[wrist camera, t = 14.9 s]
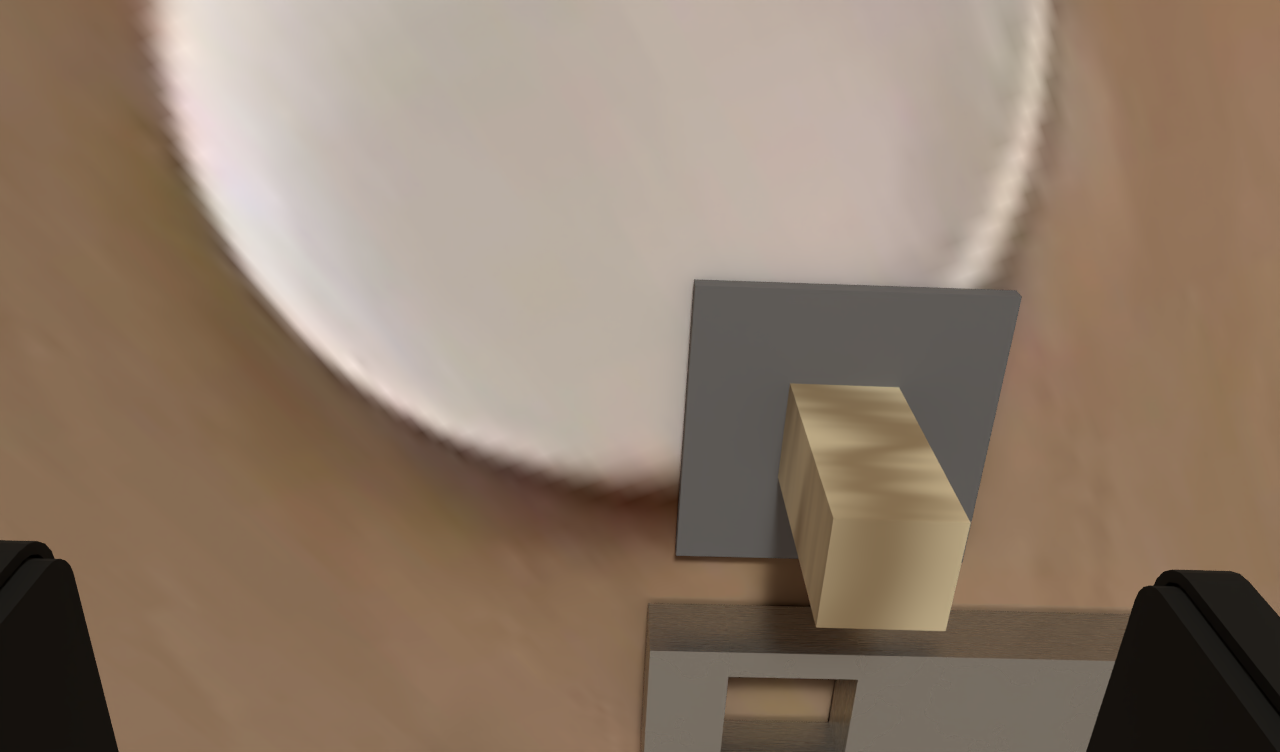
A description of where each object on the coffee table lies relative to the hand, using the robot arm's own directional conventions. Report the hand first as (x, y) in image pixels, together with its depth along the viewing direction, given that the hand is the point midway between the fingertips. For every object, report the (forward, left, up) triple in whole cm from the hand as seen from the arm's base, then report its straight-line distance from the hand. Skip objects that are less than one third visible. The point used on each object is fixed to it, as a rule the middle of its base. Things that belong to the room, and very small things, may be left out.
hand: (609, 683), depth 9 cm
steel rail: (-13, +26, -28) cm, 41 cm away
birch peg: (-9, +13, -28) cm, 32 cm away
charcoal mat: (-9, +13, -28) cm, 32 cm away
